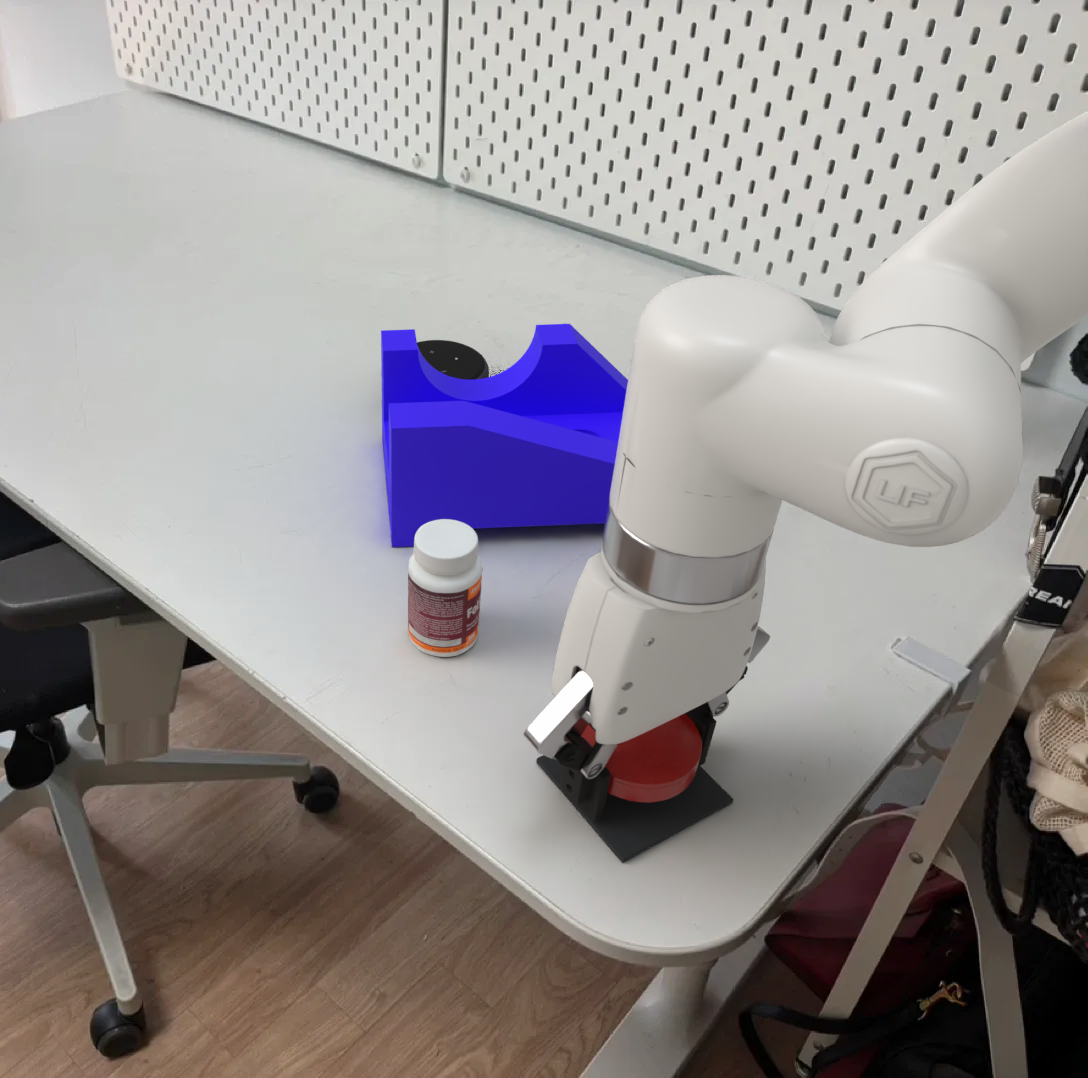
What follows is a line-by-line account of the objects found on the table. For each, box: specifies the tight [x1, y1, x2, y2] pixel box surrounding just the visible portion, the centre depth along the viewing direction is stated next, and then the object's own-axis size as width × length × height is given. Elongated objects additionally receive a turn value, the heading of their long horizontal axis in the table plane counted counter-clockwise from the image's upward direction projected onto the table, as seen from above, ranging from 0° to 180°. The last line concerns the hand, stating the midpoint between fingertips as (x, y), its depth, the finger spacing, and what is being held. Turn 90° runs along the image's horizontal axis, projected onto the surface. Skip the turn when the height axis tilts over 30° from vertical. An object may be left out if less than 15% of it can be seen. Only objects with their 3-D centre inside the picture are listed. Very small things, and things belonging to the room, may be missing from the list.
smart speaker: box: [417, 339, 490, 380], centre depth 94 cm, size 9×9×4 cm
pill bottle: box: [407, 519, 484, 658], centre depth 70 cm, size 5×5×8 cm
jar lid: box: [581, 713, 702, 803], centre depth 61 cm, size 7×7×2 cm
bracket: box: [380, 323, 628, 548], centre depth 82 cm, size 21×14×10 cm, turn 92°
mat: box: [535, 755, 734, 864], centre depth 63 cm, size 8×8×1 cm
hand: (632, 773), depth 63 cm, fingers closed on jar lid, 6 cm apart
